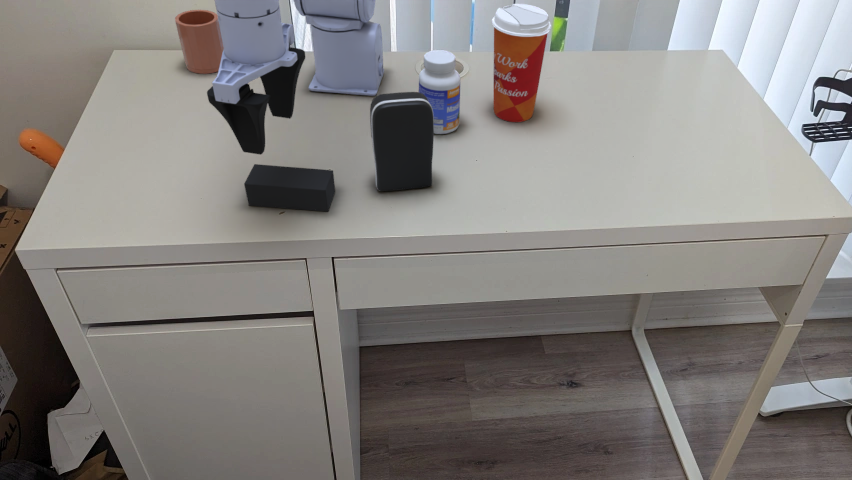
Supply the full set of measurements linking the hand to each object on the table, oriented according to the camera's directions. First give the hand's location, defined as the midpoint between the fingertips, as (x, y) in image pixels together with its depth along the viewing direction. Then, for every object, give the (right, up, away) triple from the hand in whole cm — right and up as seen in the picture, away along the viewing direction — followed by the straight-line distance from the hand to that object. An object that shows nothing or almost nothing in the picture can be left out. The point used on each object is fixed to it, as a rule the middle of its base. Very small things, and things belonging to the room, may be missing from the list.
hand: (268, 133), depth 77 cm
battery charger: (+13, -4, +10) cm, 17 cm away
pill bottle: (+16, +5, +20) cm, 27 cm away
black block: (+1, -6, +6) cm, 9 cm away
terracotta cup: (-18, +16, +28) cm, 37 cm away
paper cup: (+27, +8, +24) cm, 37 cm away
